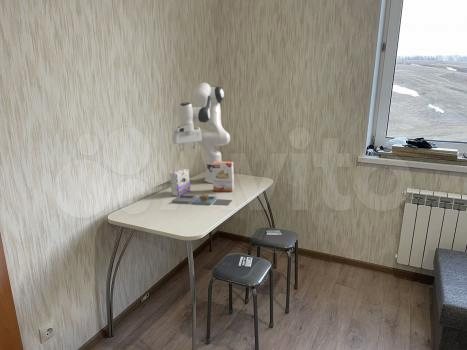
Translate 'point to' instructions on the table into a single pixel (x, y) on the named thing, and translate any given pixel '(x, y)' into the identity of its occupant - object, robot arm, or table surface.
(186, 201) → the charcoal tray
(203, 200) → the letter cube
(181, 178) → the candy box
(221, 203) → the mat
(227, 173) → the cracker box
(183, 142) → the robot arm
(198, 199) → the slate tray
